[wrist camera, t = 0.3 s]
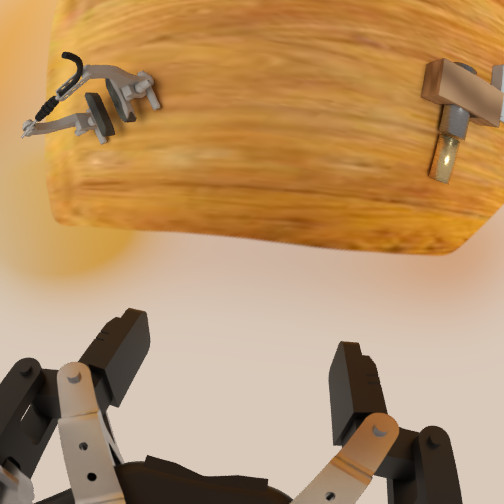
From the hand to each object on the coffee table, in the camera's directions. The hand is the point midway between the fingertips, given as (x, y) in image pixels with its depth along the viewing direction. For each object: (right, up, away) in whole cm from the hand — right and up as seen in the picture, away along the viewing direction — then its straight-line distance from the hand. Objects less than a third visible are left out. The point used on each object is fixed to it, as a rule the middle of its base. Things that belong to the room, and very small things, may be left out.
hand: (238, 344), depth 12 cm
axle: (+27, +24, +18) cm, 41 cm away
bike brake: (-17, +24, +24) cm, 37 cm away
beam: (+27, +25, +18) cm, 41 cm away
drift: (+26, +16, +22) cm, 37 cm away
